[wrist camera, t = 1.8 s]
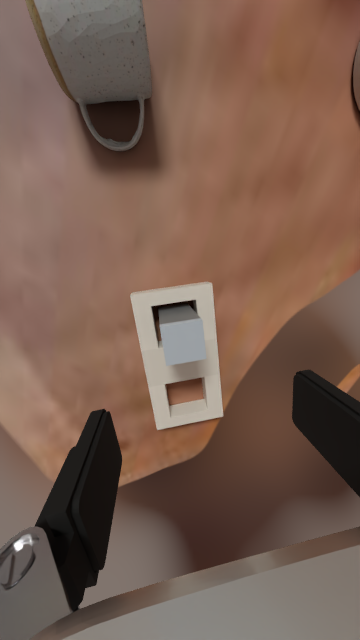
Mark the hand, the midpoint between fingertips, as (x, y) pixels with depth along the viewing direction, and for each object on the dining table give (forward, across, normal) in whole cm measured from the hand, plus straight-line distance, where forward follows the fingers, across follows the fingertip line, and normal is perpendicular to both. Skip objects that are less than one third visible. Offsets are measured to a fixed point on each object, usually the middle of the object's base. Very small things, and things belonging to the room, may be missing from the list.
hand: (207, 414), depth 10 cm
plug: (+18, 0, 0) cm, 18 cm away
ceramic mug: (+18, +3, -25) cm, 31 cm away
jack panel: (+18, 0, +5) cm, 19 cm away
